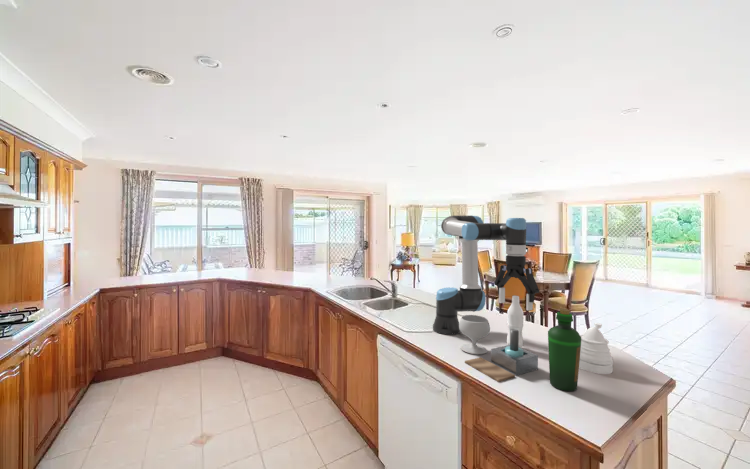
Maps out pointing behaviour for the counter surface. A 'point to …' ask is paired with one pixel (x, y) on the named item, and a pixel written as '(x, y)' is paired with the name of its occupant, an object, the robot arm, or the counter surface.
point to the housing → (514, 361)
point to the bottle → (564, 352)
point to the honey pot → (595, 352)
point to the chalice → (474, 332)
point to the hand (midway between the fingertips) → (515, 306)
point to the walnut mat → (490, 369)
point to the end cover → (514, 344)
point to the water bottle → (515, 319)
